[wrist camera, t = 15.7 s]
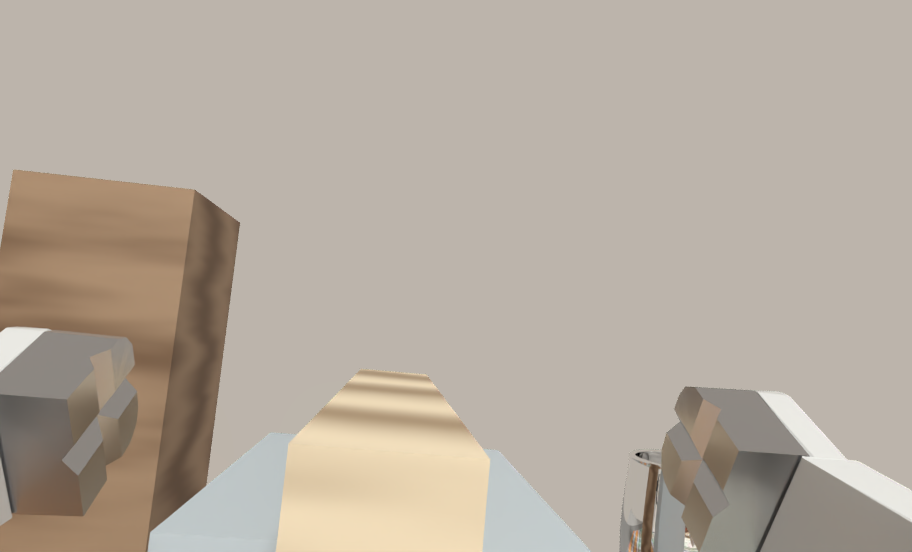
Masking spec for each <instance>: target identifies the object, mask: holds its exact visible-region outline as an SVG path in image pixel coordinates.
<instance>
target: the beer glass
mask: <svg viewBox="0 0 912 552" xmlns="http://www.w3.org/2000/svg"><path fill="white" fill-rule="evenodd" d="M661 452H662V450H659V449H639V450H633V451H631V452H630V453H629V464H628V472H627V478H626V484H625V491H624V498H623V505H622V515H621V526H620V548H619V550H620V551H619V552H698V550H697V548H696V546H695V544H694V542H693V540H692V538H691V536H690V534H689V532H688V530H687V528H686V526H685V524H684V522H683V520H682V518H681V516H682V514H683V511H684V508H685V505H683V504H682V503H681V502H679V501H678V500H677V499H676V498H674V497H673V496H672V495H670V493H669V491H668V489H667V486H666V484H665V482H664V478H663V474H662V469H661Z"/></svg>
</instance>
